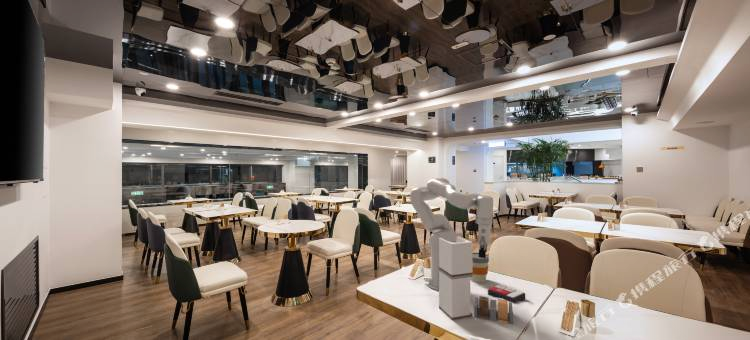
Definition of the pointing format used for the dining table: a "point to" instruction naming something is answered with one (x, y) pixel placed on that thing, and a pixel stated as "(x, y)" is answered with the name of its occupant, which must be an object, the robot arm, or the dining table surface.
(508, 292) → the calculator
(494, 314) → the grey slotted rack
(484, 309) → the walnut plug
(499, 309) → the tan tall block
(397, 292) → the dining table surface
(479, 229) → the robot arm
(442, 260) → the banded white column
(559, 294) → the dining table surface
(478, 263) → the reusable coffee cup
